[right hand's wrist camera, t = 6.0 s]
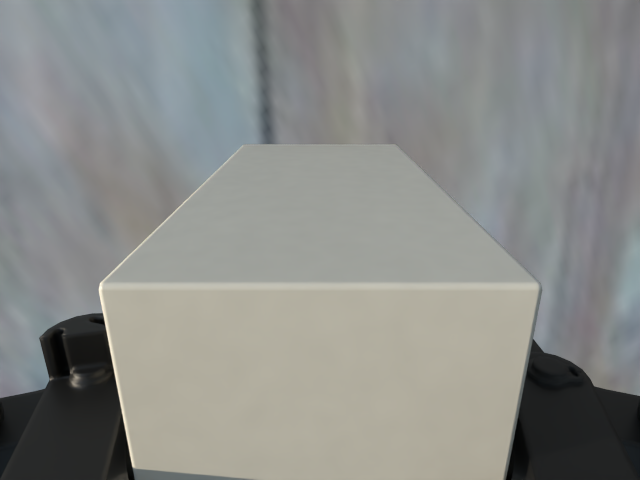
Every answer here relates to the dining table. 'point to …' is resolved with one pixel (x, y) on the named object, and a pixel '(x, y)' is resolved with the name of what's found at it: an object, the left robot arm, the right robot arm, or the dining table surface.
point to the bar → (320, 326)
